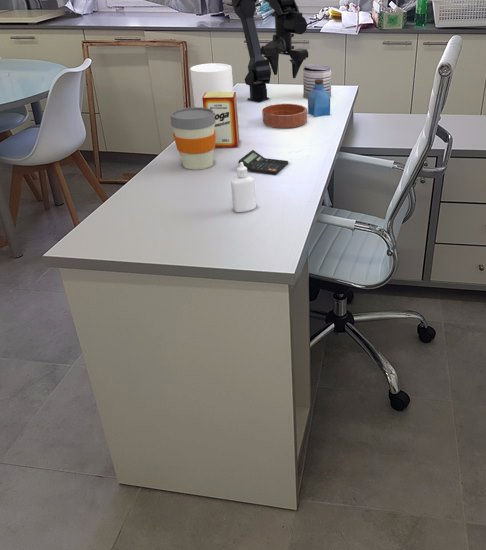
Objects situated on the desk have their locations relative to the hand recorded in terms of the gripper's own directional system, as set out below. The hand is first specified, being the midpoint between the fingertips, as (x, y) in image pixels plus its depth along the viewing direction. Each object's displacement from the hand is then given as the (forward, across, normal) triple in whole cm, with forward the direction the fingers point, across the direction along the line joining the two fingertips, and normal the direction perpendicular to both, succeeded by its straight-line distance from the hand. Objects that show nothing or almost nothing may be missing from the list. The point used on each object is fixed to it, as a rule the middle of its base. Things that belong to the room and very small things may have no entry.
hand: (284, 76), depth 211 cm
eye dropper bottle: (+12, +51, -74) cm, 91 cm away
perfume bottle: (+12, +14, +3) cm, 19 cm away
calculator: (+12, +35, -50) cm, 62 cm away
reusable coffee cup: (+12, +18, -60) cm, 64 cm away
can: (+12, -2, +22) cm, 25 cm away
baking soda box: (+12, +11, -43) cm, 46 cm away
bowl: (+12, +11, -13) cm, 21 cm away
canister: (+12, -4, -32) cm, 34 cm away
